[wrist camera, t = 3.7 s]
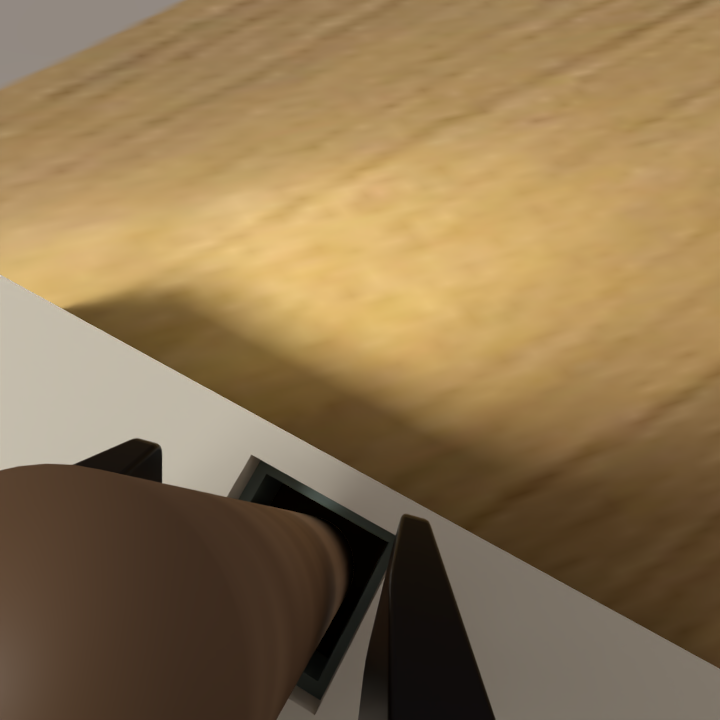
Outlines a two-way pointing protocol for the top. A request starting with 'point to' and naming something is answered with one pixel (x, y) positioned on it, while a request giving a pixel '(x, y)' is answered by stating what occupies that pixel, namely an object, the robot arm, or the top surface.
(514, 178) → the top surface
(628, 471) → the top surface
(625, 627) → the lid
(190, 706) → the brown wooden peg
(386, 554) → the teal box base
